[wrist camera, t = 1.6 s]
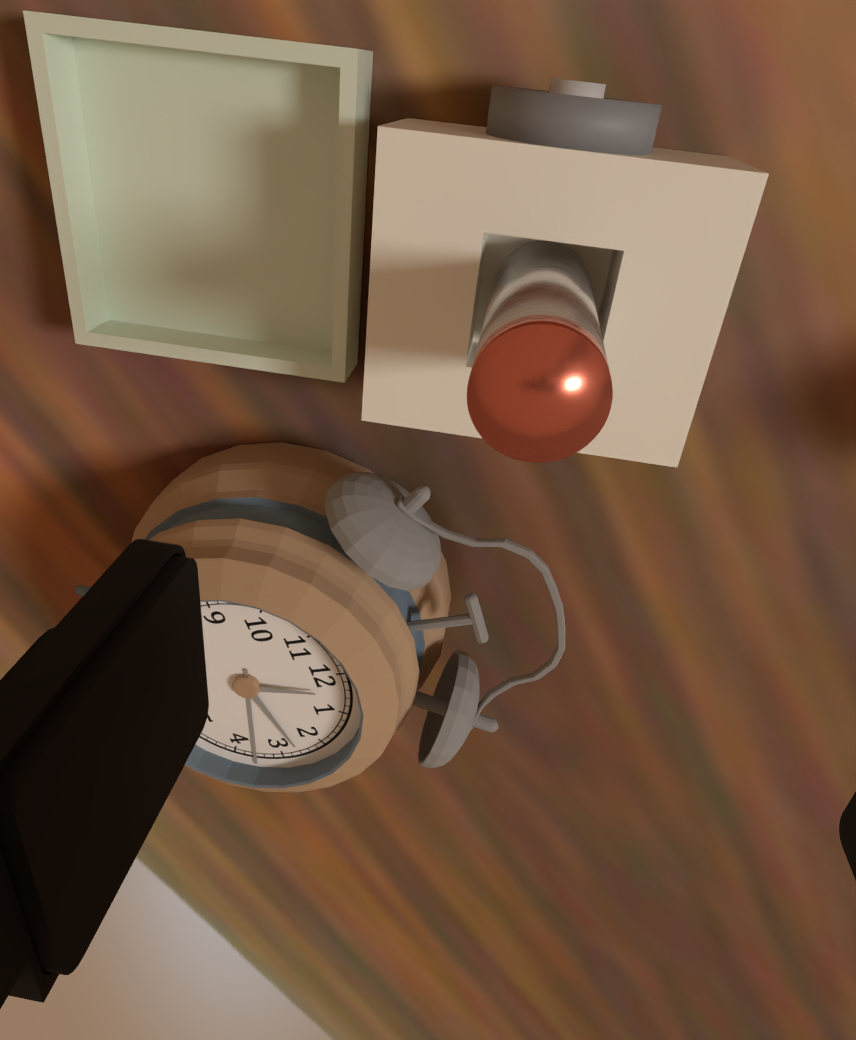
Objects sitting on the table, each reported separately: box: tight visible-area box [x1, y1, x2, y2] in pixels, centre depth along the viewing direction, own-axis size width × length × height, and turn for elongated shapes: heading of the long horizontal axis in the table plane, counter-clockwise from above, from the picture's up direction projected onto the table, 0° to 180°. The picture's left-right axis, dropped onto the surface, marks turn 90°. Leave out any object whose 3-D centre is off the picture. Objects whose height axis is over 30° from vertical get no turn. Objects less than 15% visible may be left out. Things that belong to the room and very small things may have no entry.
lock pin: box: [467, 240, 613, 463], centre depth 23 cm, size 4×4×11 cm
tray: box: [23, 11, 373, 383], centre depth 29 cm, size 12×12×2 cm
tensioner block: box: [362, 78, 769, 467], centre depth 27 cm, size 12×12×6 cm
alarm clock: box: [75, 442, 565, 792], centre depth 36 cm, size 17×9×23 cm
